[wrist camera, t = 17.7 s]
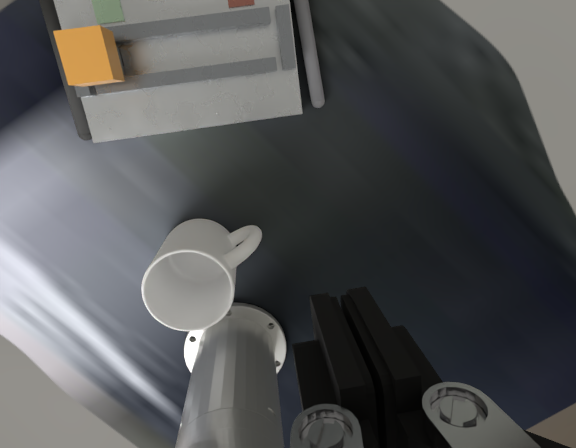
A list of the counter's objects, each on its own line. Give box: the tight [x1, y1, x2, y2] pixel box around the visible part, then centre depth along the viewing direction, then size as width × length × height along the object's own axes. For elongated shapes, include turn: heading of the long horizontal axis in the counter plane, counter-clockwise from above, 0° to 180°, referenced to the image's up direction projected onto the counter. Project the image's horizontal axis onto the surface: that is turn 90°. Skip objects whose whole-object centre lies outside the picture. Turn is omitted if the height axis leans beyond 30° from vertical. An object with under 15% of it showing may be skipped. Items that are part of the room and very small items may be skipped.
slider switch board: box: [53, 0, 303, 143], centre depth 37 cm, size 14×21×4 cm, turn 97°
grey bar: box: [39, 0, 92, 140], centre depth 38 cm, size 13×1×1 cm, turn 7°
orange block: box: [53, 25, 125, 87], centre depth 34 cm, size 4×4×6 cm
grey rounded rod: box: [294, 0, 325, 108], centre depth 39 cm, size 13×1×1 cm, turn 11°
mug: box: [142, 219, 262, 331], centre depth 40 cm, size 12×8×10 cm
